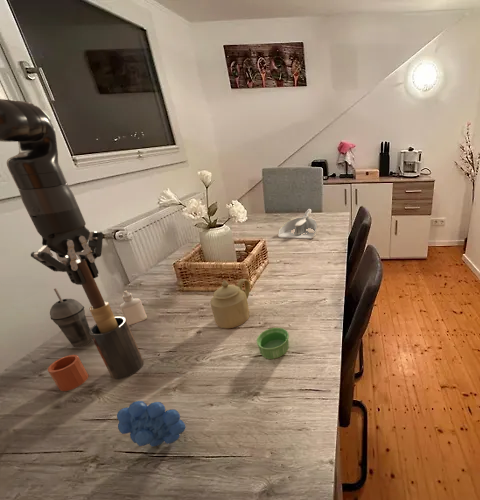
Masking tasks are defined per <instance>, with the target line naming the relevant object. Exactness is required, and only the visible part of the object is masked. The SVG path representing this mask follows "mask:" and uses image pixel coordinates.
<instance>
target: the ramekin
mask: <svg viewBox="0 0 480 500" xmlns="http://www.w3.org/2000/svg"><path fill="white" fill-rule="evenodd" d="M289 337H290V334H289V332H288V330H287V329H285V328H283V327H270V328H267V329H265V330H263V331H261V332H260V333H259V335H258V336H257V338H256V346H257V347H258V349H259V352H260V355H261V356H262V357H263V358H265V359H267V360H274V359H278V358H280V357H282V356H284V355H285V354H286V353H287V352H288V350H289Z"/></svg>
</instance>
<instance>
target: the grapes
mask: <svg viewBox="0 0 480 500" xmlns="http://www.w3.org/2000/svg"><path fill="white" fill-rule="evenodd" d="M116 419H117V420H118V424H117V430H118V432H119V433H120V434H122V435H126V434H129V438H130V439H131V442H133V444H137V446H139V447H142V446H143V447H144V446H147V445H149V446H150V447H157V446H161V445H162V444H163V443H165V444H167V445H168V444H172V443H175V442H177V441H178V440H179V438H180V435H181V434H183V433H184V432H185V430H186V427H187V426H186V423H185V422H184V420H182V419H181V415H180V413H179V410H177V409H175V408H172V409H171V408H170V409H167V410H166V406H165V405H164V404H163V402H162V401H154V402H151V403H149V404H148V405H147V403H146V402H145V401H144V400H137V401H133V402H132V403H130V404H129V406H128V407H123V408H121V409H119V410H117V413H116Z"/></svg>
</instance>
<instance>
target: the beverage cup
mask: <svg viewBox="0 0 480 500" xmlns="http://www.w3.org/2000/svg"><path fill="white" fill-rule="evenodd" d="M57 289H58V288H53V291H54V293H55V295H56V296H57V298H58V301H56V302H54V303H53V304H52V306H51V307H50V309H49V317H50V319H51V320H52V321H53V323H54V324H55V325H57V327H58V328H59V329H60V330H61V332H62V333H63V335H64V336H65V338H66V339H67V340H68V342H69V343H70V344H71V345H72V346H73V347H74V348H79V347H84V346H86V345H88V344H89V343H91V342H92V341H93V339H92V337H91V335H90V333H89V331H90V329H91V328H90V325H89V322H88V319H87V316H86V310H85V306H84V305H83V304H82V303H81V302H80V301H79V300H77V299H74V298H62V297H61V295H60V292H59V291H58V290H57Z"/></svg>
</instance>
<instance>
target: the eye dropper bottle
mask: <svg viewBox="0 0 480 500" xmlns="http://www.w3.org/2000/svg"><path fill="white" fill-rule="evenodd" d="M121 297H122V300H123V302H122V303H120V305H119V309H120V311H121V314H122V317H124V318H125V319H126V321H127V323H128V326H131V325H134V324H137V323H140V322H141V321H142V322H144V321H145V320H146V319H147V318H148V316H147V313H146V310H145V308H144V305H143V303H142V300H141V299H140V298H138V297H135V298H134V297H133V294H132V293H131V292H128V291H127V290H124V291H123V295H122V296H121Z"/></svg>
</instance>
